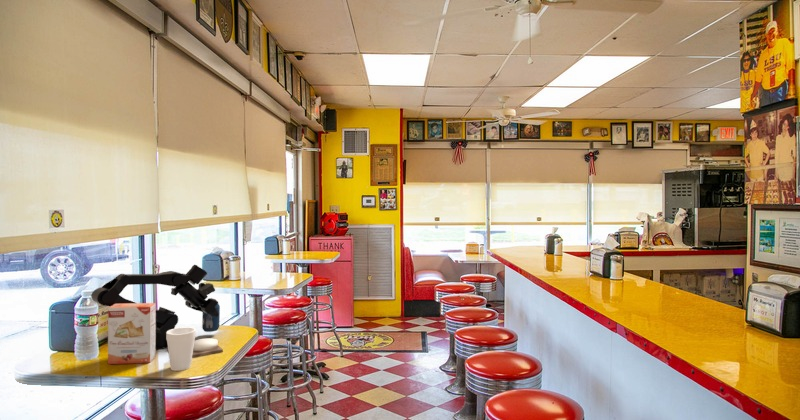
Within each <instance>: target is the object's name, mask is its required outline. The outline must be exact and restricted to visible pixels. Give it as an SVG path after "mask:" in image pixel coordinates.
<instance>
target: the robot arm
mask: <svg viewBox="0 0 800 420" xmlns="http://www.w3.org/2000/svg"><path fill="white" fill-rule="evenodd" d="M207 275H208V272H207V271H206V270H205V269H203V268H202V267H200V266H198V265H197V264H193V265H192V267H191V268H190V269H189V270H188V271H187V272H186V273H181V272H177V271H174V270H169V271H168V270H166V271H162V272H160V273H136V274H135V273H131V274H130V273H128V274H126V273H120V274H118V275H116V276H115V277H114V278H112V279H111V280H110V281H107V282H106V283H105V284H103V285H102V286H101V287H98V288H96V289H94V290H93V291H92V293H91V299H92V301H93V302H95V303H97V304H98V305H101V306H105V307H110V306H112V305H114V304H120V303H136V302H135V301H132V300H129V299H127V298H125V297H123V296H122V295H120V294H121V293H122V292H123V291H124V289H125V288H126V287H127V286H129V285H136V286H137V285H162V286H169V287H172V288H170V289H171V292H170V294H171V295H173V296H177V294H179V295H180V297H182V298H183V300H184V301H185V306H186V307H188V308H190V309H193V310H195V311H198V312H201V313H202V314H203V313H206V314H209V315H213V316H216V317H218V316H219V314H218V312H217V310H216V308H215V306H216V305H217V304H219V301H218V300H217V299H215V298H212V297H211V298H208V296H209V295H210V294H211V293H214V292H215V291H216V288H215V286H214V285H213V283H211V282H206V283H204V282H202V281H203V279H204V278H205V277H206V276H207ZM195 285H198V289H197V288H195V287H194V286H195ZM178 323H179V316H178V315H177V314H176V312H175V311H174V310H170V309H168V308H165V307H162V306H159V308H158V309H156V345H155V350H159V349H160V350H161V349H166V348H167V349H168V344H167V340H166V333H167V331H169V330H171V329H175V328H176V326H177V325H178Z"/></svg>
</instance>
